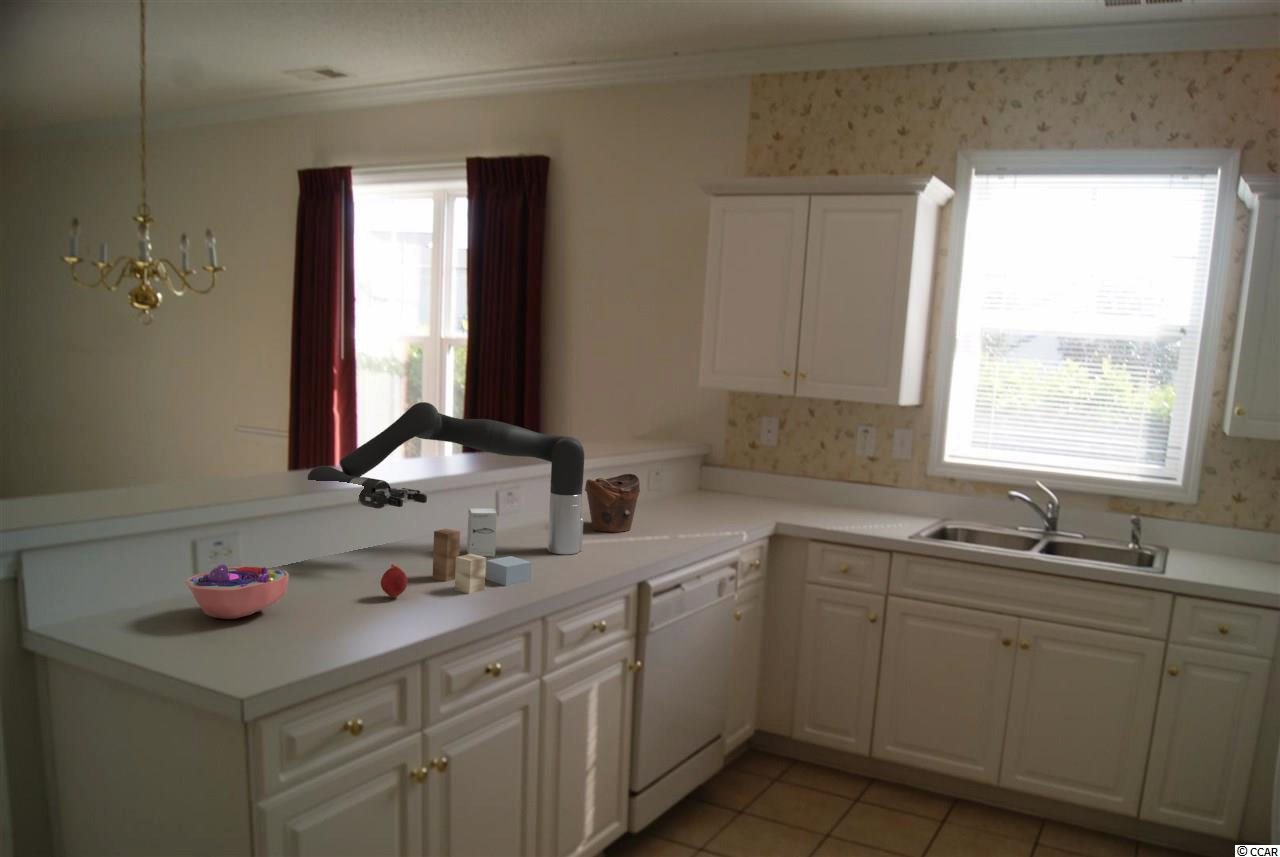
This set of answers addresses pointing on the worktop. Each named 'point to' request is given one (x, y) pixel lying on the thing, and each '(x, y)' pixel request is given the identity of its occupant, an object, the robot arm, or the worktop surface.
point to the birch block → (470, 573)
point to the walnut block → (445, 554)
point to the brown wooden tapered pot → (613, 502)
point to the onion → (394, 581)
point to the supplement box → (481, 531)
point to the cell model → (237, 590)
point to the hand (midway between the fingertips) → (414, 500)
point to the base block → (508, 570)
